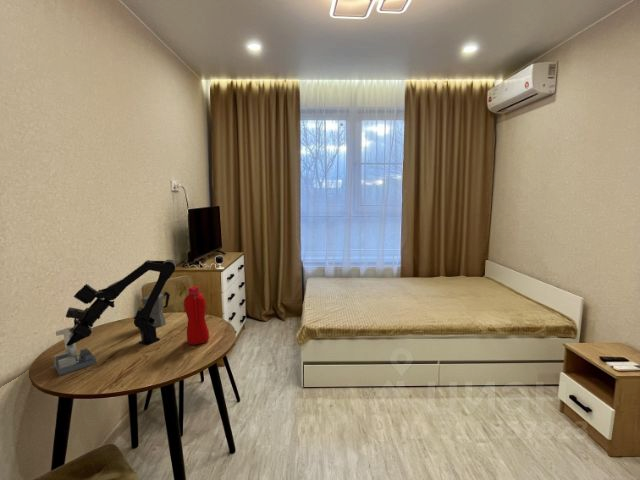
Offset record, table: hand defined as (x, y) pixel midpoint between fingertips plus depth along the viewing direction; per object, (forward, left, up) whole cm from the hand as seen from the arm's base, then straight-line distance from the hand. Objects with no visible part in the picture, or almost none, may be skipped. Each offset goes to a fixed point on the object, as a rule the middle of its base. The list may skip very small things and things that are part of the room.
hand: (67, 341), depth 144 cm
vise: (-10, +4, -7) cm, 13 cm away
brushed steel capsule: (0, 0, -7) cm, 7 cm away
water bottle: (-41, -32, -7) cm, 52 cm away
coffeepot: (-4, -41, -7) cm, 41 cm away
